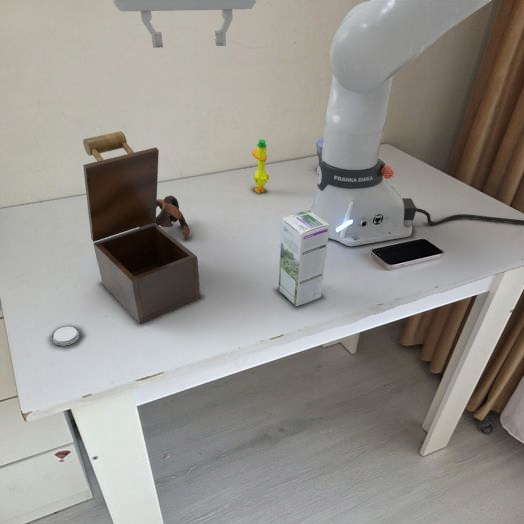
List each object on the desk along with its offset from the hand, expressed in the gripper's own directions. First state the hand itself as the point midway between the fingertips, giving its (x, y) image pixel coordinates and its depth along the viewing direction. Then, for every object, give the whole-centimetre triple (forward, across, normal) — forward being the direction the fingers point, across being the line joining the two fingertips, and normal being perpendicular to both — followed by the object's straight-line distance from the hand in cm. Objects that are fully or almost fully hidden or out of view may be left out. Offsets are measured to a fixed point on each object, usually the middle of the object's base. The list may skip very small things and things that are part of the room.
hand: (189, 46), depth 73 cm
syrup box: (+36, +15, -17) cm, 42 cm away
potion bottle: (+35, +34, +35) cm, 60 cm away
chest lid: (+19, -13, -10) cm, 25 cm away
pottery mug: (+35, -8, +7) cm, 36 cm away
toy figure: (+35, +14, +25) cm, 45 cm away
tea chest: (+35, -11, -13) cm, 39 cm away
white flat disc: (+35, -24, -24) cm, 48 cm away
